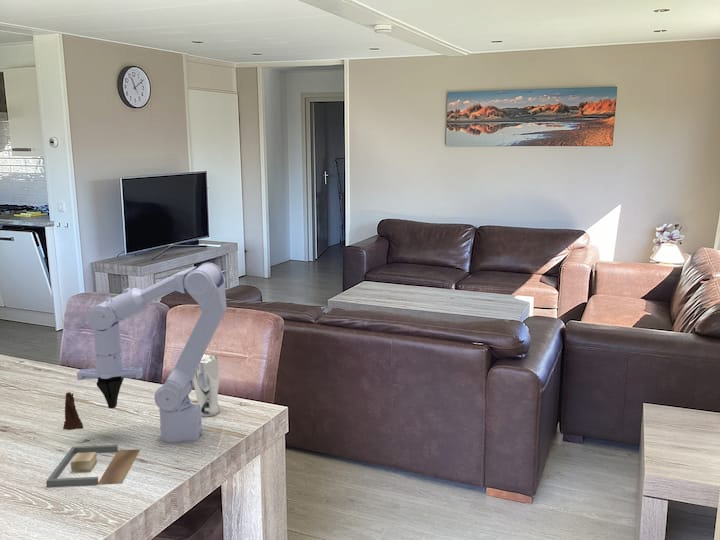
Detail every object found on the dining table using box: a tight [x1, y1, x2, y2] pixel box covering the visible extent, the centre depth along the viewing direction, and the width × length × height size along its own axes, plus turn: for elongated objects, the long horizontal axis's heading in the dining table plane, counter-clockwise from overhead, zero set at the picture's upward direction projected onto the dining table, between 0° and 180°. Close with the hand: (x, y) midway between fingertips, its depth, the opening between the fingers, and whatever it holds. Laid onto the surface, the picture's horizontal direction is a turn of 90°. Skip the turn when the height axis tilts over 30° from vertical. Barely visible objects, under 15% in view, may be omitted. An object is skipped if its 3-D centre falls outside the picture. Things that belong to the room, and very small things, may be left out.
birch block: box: [70, 452, 98, 473], centre depth 138 cm, size 4×4×4 cm
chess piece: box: [63, 391, 84, 431], centre depth 158 cm, size 5×5×10 cm
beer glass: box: [192, 354, 221, 418], centre depth 168 cm, size 7×7×15 cm
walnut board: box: [96, 448, 141, 486], centre depth 138 cm, size 5×15×1 cm, turn 5°
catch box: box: [45, 444, 119, 488], centre depth 138 cm, size 10×15×3 cm, turn 5°
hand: (112, 406), depth 152 cm, fingers closed
